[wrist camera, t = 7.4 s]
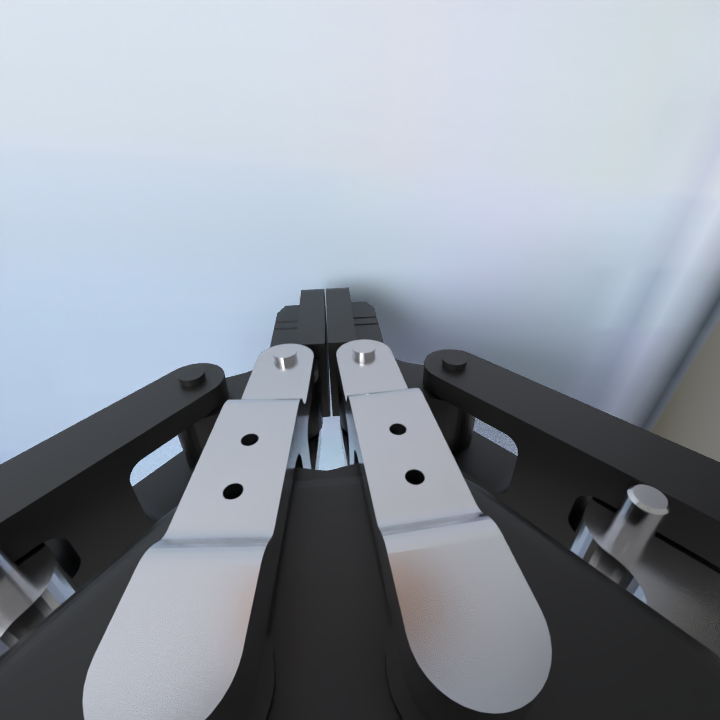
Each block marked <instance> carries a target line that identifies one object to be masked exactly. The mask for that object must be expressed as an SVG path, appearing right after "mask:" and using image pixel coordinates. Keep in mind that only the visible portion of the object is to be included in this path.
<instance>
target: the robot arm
mask: <svg viewBox="0 0 720 720" xmlns="http://www.w3.org/2000/svg"><path fill="white" fill-rule="evenodd" d="M326 303H327V321H326V307H325V293H324V289H314V290H301V298H300V305H294V306H285V307H284V308H283V309H282V310H281V311H280V312H278V313H277V318H276V323H275V327H274V332H273V336H272V341H271V346H270V348H268V349H266V350H265V351H263V352H262V353H261V354H260V355H259V356H258V358H257V361H256V363H255V366H254V368H253V370H252V371H249V372H247V373H243V374H240V375H236V376H231V377H227V378H225V374H224V371H223V369H222V368H221V367H219V366H217V365H214V364H209V363H198V364H192V365H188V366H184V367H181V368H179V369H177V370H175V371H173V372H171V373H169V374H167V375H165V376H164V377H162V378H160V379H158V380H156V381H154V382H152V383H151V384H149V385H147V386H145V387H143V388H141V389H139V390H138V391H136V392H134V393H132V394H130V395H128V396H127V397H125V398H123V399H121V400H119V401H117V402H115V403H114V404H112V405H110V406H108V407H106V408H104V409H102V410H101V411H99V412H97V413H95V414H93V415H91V416H90V417H88V418H86V419H84V420H82V421H80V422H78V423H77V424H75V425H73V426H71V427H69V428H67V429H65V430H64V431H62V432H60V433H58V434H56V435H54V436H53V437H51V438H49V439H47V440H45V441H43V442H41V443H40V444H38V445H36V446H34V447H32V448H30V449H28V450H27V451H25V452H23V453H21V454H19V455H17V456H16V457H14V458H12V459H10V460H8V461H6V462H4V463H3V464H1V465H0V720H720V462H718V461H715V460H713V459H711V458H708V457H706V456H704V455H702V454H699V453H697V452H695V451H692V450H690V449H688V448H685V447H683V446H681V445H679V444H676V443H674V442H672V441H669V440H667V439H665V438H662V437H660V436H658V435H655V434H653V433H651V432H649V431H647V430H644V429H642V428H640V427H637V426H635V425H633V424H630V423H628V422H626V421H624V420H621V419H619V418H617V417H614V416H612V415H610V414H608V413H605V412H603V411H601V410H598V409H596V408H594V407H591V406H589V405H587V404H585V403H582V402H580V401H578V400H575V399H573V398H571V397H569V396H566V395H564V394H562V393H559V392H557V391H555V390H552V389H550V388H548V387H546V386H543V385H541V384H539V383H536V382H534V381H532V380H530V379H527V378H525V377H523V376H520V375H518V374H516V373H514V372H511V371H509V370H507V369H504V368H502V367H500V366H497V365H495V364H493V363H491V362H488V361H486V360H484V359H481V358H479V357H477V356H475V355H472V354H470V353H467V352H464V351H459V350H439V351H436V352H433V353H431V354H429V355H428V356H427V357H426V359H425V362H424V365H418V364H411V363H406V362H402V361H399V360H397V359H395V358H394V356H393V354H392V351H391V349H390V348H389V347H388V346H387V345H385V344H384V343H383V339H382V336H381V332H380V328H379V325H378V321H377V318H376V313H375V310H374V308H373V307H372V306H370V305H369V304H368V303H367V302H352V303H351V300H350V294H349V288H334V289H326ZM328 354H329V356H328ZM329 369H330V383H331V397H332V411H333V416H340V426H341V440H342V446H343V452H344V458H345V464H346V466H344V467H341V468H337V469H334V470H329V471H322V470H318V468H319V458H320V449H321V428H322V424H323V417H329V416H330V388H329ZM475 417H476V418H478V419H479V420H481V421H483V422H485V423H487V424H489V425H490V426H492V427H494V428H496V429H498V430H499V431H501V432H503V433H505V434H506V435H508V436H509V437H510V438H511V439H512V440H513V441H514V442H515V444H516V446H517V448H518V456H516V455H514V454H513V453H511V452H509V451H508V450H506V449H504V448H502V447H501V446H499V445H497V444H495V443H494V442H492V441H490V440H488V439H487V438H485V437H483V436H481V435H480V434H478V433H476V432H475V431H473V427H474V422H475ZM177 435H178V437H179V440H180V443H181V446H182V448H183V451H182V452H180V453H179V454H178V455H176V456H175V457H173V458H172V459H171V460H169V461H168V462H166V463H165V464H164V465H162V466H161V467H160V468H158V469H157V470H155V471H154V472H153V473H151V474H150V475H148V476H147V477H146V478H144V479H143V480H141V481H140V482H139V483H137V484H136V485H134V486H133V487H132V486H131V483H130V474H131V472H132V469H133V468H134V466H135V465H136V464H137V463H138V462H139V461H140V460H141V459H143V458H144V457H146V456H147V455H149V454H150V453H152V452H153V451H155V450H156V449H158V448H159V447H160V446H162V445H163V444H165V443H166V442H168V441H169V440H171V439H172V438H174V437H175V436H177Z"/></svg>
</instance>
